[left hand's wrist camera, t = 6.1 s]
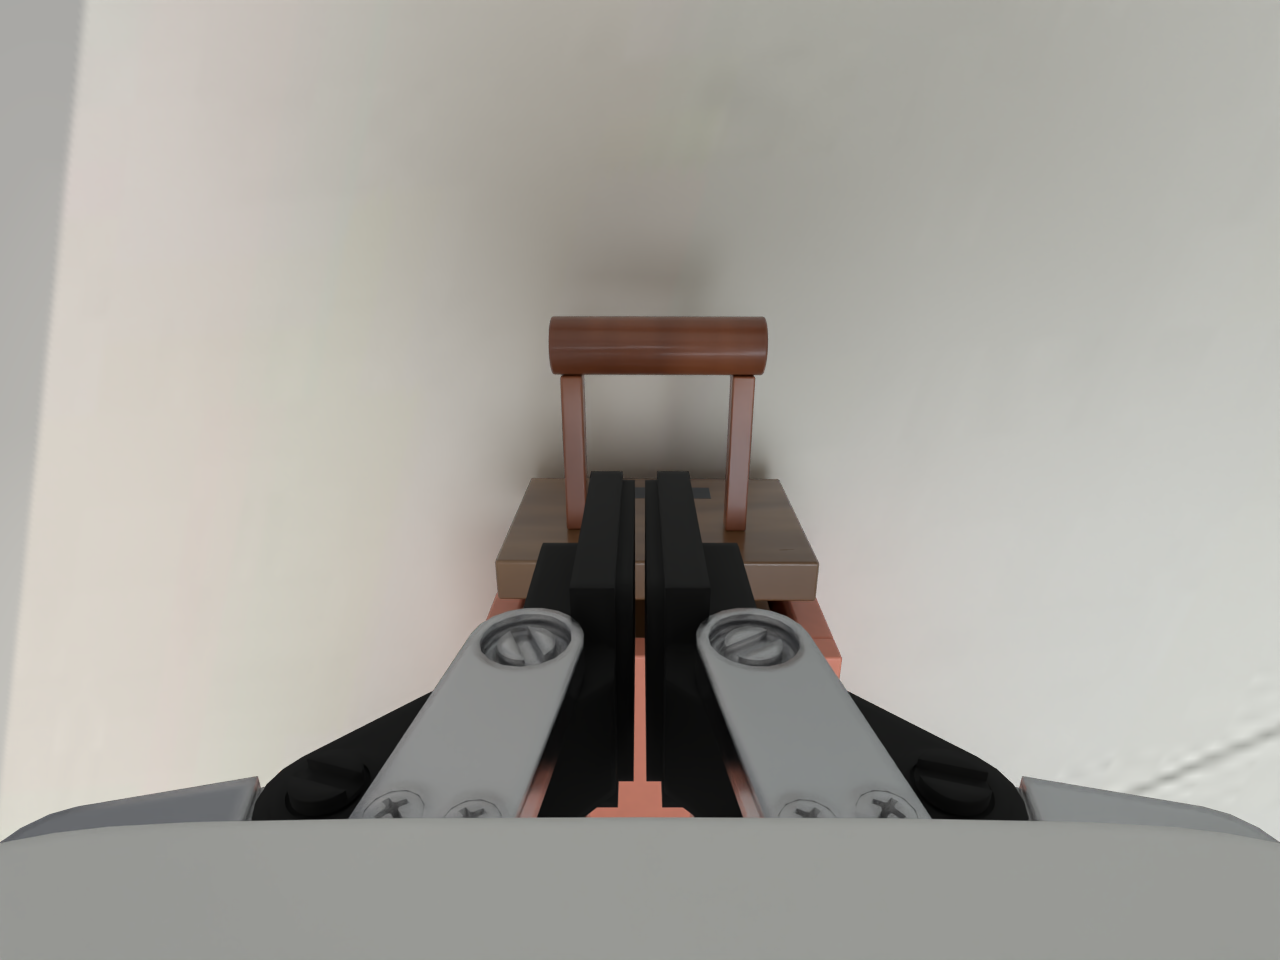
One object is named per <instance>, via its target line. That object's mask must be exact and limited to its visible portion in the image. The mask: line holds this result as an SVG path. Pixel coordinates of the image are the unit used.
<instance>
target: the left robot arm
mask: <svg viewBox="0 0 1280 960" xmlns="http://www.w3.org/2000/svg"><path fill="white" fill-rule="evenodd" d="M634 712H635V480H623V471H591V475H590V481H589V486H588V491H587V497H586V502H585V507H584V513H583V518H582V523H581V529H580V534H579V539H578V543H543V544H542V546H541V549H540V553H539V556H538V559H537V563H536V566H535V569H534V573H533V576H532V580H531V583H530V586H529V590H528V593H527V597H526V600H525V603H524V607H523V609H517V610H511V611H507V612H504V613H501V614H499V615H496V616H493V617H491V618H490V619H488V620H486V621H485V622H483V623H481V624H480V625H479V626H478V627H477V628H476V629H475V630H474V631H473V632H472V633H471V635H470V636H469V638H468V639H467V641H466V642H465V644H464V645H463V647H462V648H461V650H460V651H459V653H458V654H457V656H456V657H455V659H454V660H453V662H452V663H451V665H450V666H449V668H448V669H447V671H446V672H445V674H444V675H443V677H442V678H441V680H440V681H439V683H438V684H437V686H436V687H435V689H434V690H433V691H432V692H430V693H428V694H426V695H424V696H422V697H420V698H418V699H416V700H414V701H412V702H410V703H408V704H406V705H404V706H402V707H400V708H398V709H396V710H394V711H392V712H390V713H388V714H386V715H384V716H382V717H380V718H378V719H376V720H374V721H372V722H371V723H369V724H367V725H365V726H363V727H361V728H359V729H357V730H355V731H353V732H351V733H349V734H347V735H345V736H343V737H341V738H339V739H337V740H335V741H333V742H331V743H329V744H327V745H325V746H323V747H321V748H319V749H317V750H315V751H313V752H311V753H309V754H307V755H305V756H303V757H302V758H300V759H299V760H297V761H295V762H294V763H292V764H291V765H289V766H287V767H286V768H284V769H283V770H282V771H281V772H279V773H278V774H277V775H276V776H275V777H274V778H273V779H272V780H271V781H270V782H269V783H268V784H267V785H266V786H265V787H263V788H261V787H260V783H259V779H258V776H256V777H250V778H244V779H238V780H232V781H226V782H220V783H214V784H209V785H203V786H197V787H191V788H185V789H179V790H173V791H167V792H161V793H155V794H149V795H143V796H137V797H131V798H125V799H119V800H113V801H108V802H102V803H96V804H90V805H84V806H78V807H74V808H70V809H67V810H63V811H60V812H56V813H52V814H49V815H47V816H45V817H43V818H41V819H39V820H37V821H35V822H32V823H30V824H28V825H26V826H24V827H22V828H20V829H19V830H17V831H16V832H14V833H13V834H12V835H10V836H9V837H7V838H6V839H4V840H3V841H1V842H0V960H1280V842H1279V841H1277V840H1276V839H1274V838H1273V837H1271V836H1270V835H1268V834H1267V833H1266V832H1264V831H1263V830H1261V829H1260V828H1258V827H1256V826H1254V825H1252V824H1250V823H1248V822H1245V821H1243V820H1241V819H1239V818H1237V817H1235V816H1233V815H1231V814H1228V813H1224V812H1220V811H1217V810H1213V809H1210V808H1206V807H1202V806H1196V805H1190V804H1184V803H1178V802H1172V801H1167V800H1161V799H1155V798H1149V797H1143V796H1137V795H1131V794H1125V793H1119V792H1113V791H1107V790H1101V789H1095V788H1089V787H1083V786H1077V785H1071V784H1066V783H1060V782H1054V781H1048V780H1042V779H1036V778H1030V777H1024V776H1022V779H1021V783H1020V787H1019V788H1017V787H1015V786H1014V785H1013V784H1012V783H1011V782H1010V781H1009V780H1008V779H1007V778H1006V777H1005V776H1004V775H1003V774H1002V773H1001V772H999V771H998V770H997V769H996V768H994V767H993V766H991V765H989V764H988V763H986V762H985V761H983V760H981V759H980V758H978V757H977V756H975V755H973V754H971V753H969V752H967V751H965V750H963V749H961V748H959V747H957V746H955V745H953V744H951V743H949V742H947V741H945V740H943V739H941V738H939V737H937V736H935V735H933V734H931V733H929V732H927V731H925V730H923V729H921V728H919V727H917V726H915V725H913V724H911V723H909V722H908V721H906V720H904V719H902V718H900V717H898V716H896V715H894V714H892V713H890V712H888V711H886V710H884V709H882V708H880V707H878V706H876V705H874V704H872V703H870V702H868V701H866V700H864V699H862V698H860V697H858V696H856V695H854V694H852V693H850V692H848V691H847V690H846V689H845V687H844V686H843V684H842V683H841V681H840V680H839V678H838V677H837V675H836V674H835V672H834V671H833V669H832V668H831V666H830V665H829V663H828V662H827V660H826V659H825V657H824V656H823V654H822V653H821V651H820V650H819V648H818V647H817V645H816V644H815V642H814V641H813V639H812V638H811V636H810V635H809V633H808V632H807V631H806V630H805V629H804V628H803V627H802V626H801V625H800V624H799V623H797V622H795V621H794V620H792V619H790V618H789V617H787V616H784V615H781V614H779V613H776V612H773V611H769V610H763V609H757V607H756V603H755V600H754V597H753V593H752V590H751V586H750V583H749V580H748V576H747V573H746V569H745V566H744V563H743V559H742V556H741V553H740V549H739V546H738V544H737V543H702V539H701V534H700V529H699V523H698V518H697V513H696V507H695V502H694V497H693V491H692V486H691V481H690V475H689V471H657V480H645V713H646V781H661V791H662V808H684V809H686V810H687V811H688V812H689V813H690V817H590V813H591V812H592V811H593V810H594V809H596V808H618V791H619V781H634Z"/></svg>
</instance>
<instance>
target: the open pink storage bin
mask: <svg viewBox="0 0 1280 960" xmlns="http://www.w3.org/2000/svg"><path fill="white" fill-rule="evenodd" d="M525 600H526V599H500V598H499V597H498V592H497V594H496V597H495V599H494V602H493V604H492V607H491V609H490V612H489V614H488V617H487V619H486V620H488V619H490V618H491V617H493V616H496V615H499V614H501V613H504V612H507V611H511V610H517V609H523V607H524V603H525ZM767 602H768V605H769V609H770V611H773V612H776V613H779V614H781V615H784V616H787V617H789V618H790V619H792V620H794V621H795V622H797V623H799V624H800V625H801V626H802V627H803V628H804V629H805V630H806V631H807V632H808V633H809V635H810V636H811V638H812V639H813V641H814V642H815V644H816V645H817V647H818V648H819V650H820V651H821V653H822V654H823V656H824V657H825V659H826V660H827V662H828V663H829V665H830V666H831V668H832V669H833V671H834V672H835V674H836V675H837V677H838V678H840V670H841V662H842V657H841V655H840V653H839V650H838V648H837V646H836V643H835V641H834V640H833V636H832V634H831V632H830V629H829V627H828V625H827V622H826V620H825V618H824V615H823V613H822V611H821V608H820V606H819V604H818V601H817V599H816V598H815V600H814V601H767ZM590 817H690V813H689V812H688V811H687V810H686V809H684V808H662V791H661V781H646V713H645V638H635V712H634V781H619V791H618V808H596V809H594V810H593V811H592V812H591V813H590Z"/></svg>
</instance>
